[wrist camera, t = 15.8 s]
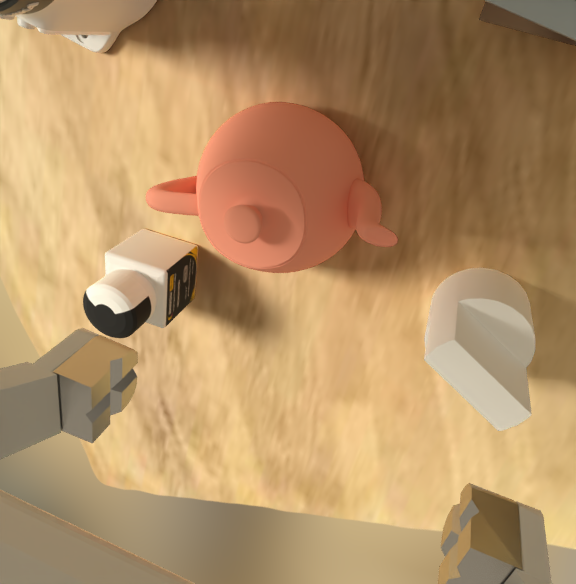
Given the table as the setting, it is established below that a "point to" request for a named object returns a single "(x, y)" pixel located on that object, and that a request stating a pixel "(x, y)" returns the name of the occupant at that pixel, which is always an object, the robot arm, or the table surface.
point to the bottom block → (519, 23)
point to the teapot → (278, 190)
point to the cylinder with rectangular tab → (483, 342)
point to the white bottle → (142, 284)
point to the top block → (544, 13)
